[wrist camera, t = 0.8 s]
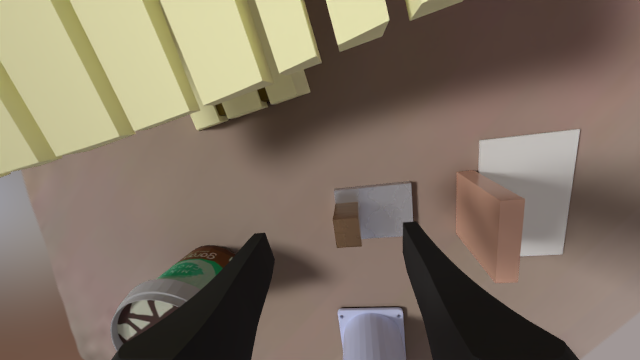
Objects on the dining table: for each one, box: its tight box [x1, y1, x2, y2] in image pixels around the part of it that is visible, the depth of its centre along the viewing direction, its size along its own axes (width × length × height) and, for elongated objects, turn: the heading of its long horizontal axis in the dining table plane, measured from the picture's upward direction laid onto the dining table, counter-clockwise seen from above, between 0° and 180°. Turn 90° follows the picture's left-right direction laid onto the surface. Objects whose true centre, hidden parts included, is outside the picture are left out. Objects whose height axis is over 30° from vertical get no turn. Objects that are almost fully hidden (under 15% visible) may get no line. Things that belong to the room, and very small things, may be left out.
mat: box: [478, 129, 580, 256], centre depth 25 cm, size 13×8×1 cm, turn 8°
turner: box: [333, 181, 413, 248], centre depth 26 cm, size 8×6×5 cm
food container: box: [110, 246, 236, 351], centre depth 28 cm, size 12×6×10 cm, turn 111°
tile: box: [456, 170, 525, 283], centre depth 23 cm, size 7×2×8 cm, turn 8°
